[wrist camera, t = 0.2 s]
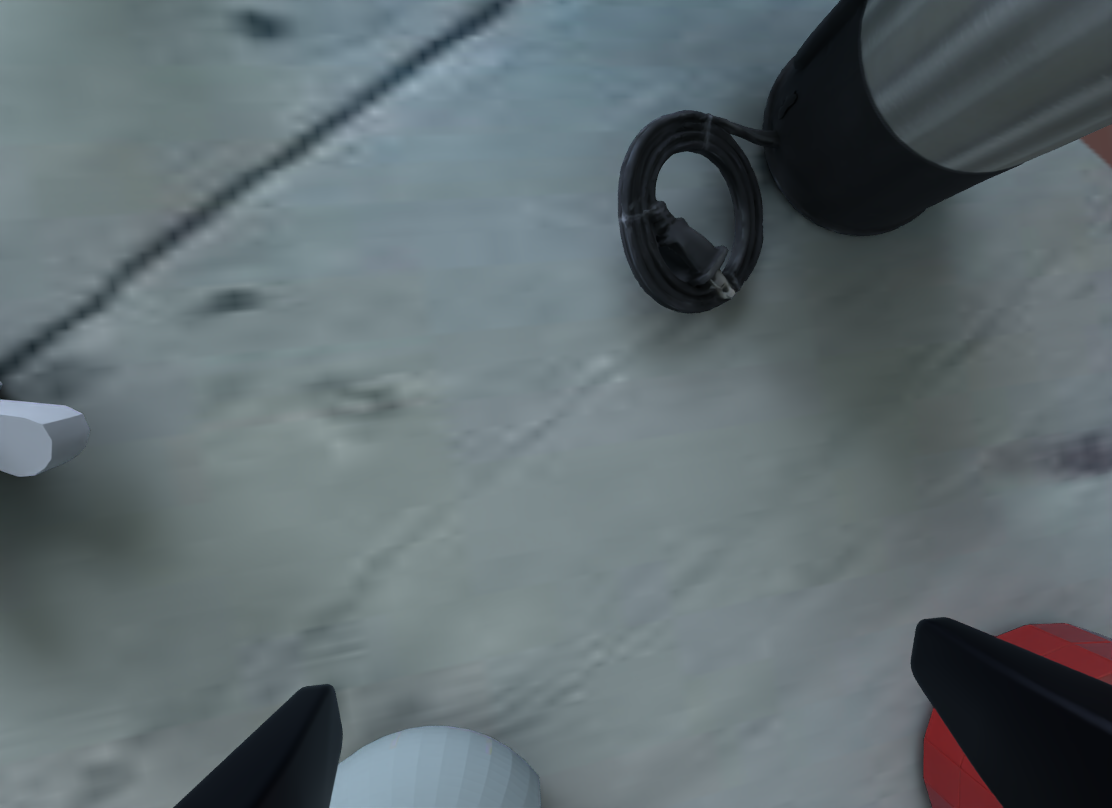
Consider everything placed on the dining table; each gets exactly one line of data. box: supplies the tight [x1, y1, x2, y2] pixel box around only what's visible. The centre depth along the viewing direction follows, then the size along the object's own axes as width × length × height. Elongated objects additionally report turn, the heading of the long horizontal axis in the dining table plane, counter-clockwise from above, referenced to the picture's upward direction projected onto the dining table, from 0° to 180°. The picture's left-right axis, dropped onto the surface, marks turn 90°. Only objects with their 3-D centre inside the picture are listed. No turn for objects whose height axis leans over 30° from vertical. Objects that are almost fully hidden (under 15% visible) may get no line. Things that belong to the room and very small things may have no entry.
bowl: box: [923, 623, 1112, 808], centre depth 23 cm, size 12×12×4 cm
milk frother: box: [618, 0, 1112, 313], centre depth 17 cm, size 14×16×15 cm
